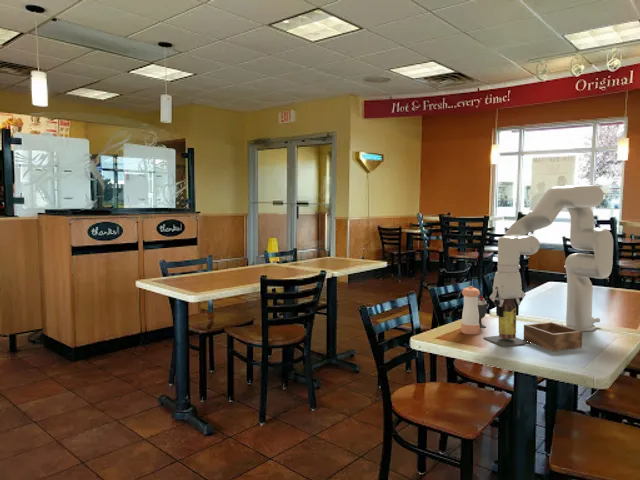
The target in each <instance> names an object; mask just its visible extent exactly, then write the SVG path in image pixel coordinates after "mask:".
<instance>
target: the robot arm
mask: <svg viewBox="0 0 640 480" xmlns="http://www.w3.org/2000/svg"><path fill="white" fill-rule="evenodd" d="M603 200H604V192H603V189H602V188H601V187H600V186H598V185H596V184H595V185H594V184H593V185H591V184H589V185H564V186H563V185H562V186H560V185H559V186H553V187H550V188H548V189H547V191H546V192H545V193H544V194H543V195H542V197H541V198H540V200H539V202H537V204H536V206H535V207H534V208H533V210H532V211H531V212H529V213H528V214H526V215H524V216H523V217H521V218H520V219H518V220H516V221H515V222H514V223H513V224H511V226H509V228H508V229H507V231H506V232H505V233H504V234H503V236H500V237H498V240H497V241H498V242H497V271H496V272H495V274H494V279H493V285H492V286H493V287H492V293H491V294H490V295H489V299H490V300H491V301H492V303H493V304H494V306H496V307H495V311H496V312H495V313H496V316H497V317H498V318H499V317H503V307H502V304H503V302H504V299H513V300H514V302H515V305H516V317H517V316H519V315H520V313H519V309H520V307H519V306H520V305H521V303H522V301H523V300H524V298H525V297H526V295H527V294H526V293H525V292H524V291H523V289H522V288H523V286H522V285H523V284H522V277H521V272H520V269H521V265H520V255H525V256H531V255H534V254H536V253H538V252H539V250H540V248H541V247H540V246H541V245H540V241H539V239H538V238H537V237H536V236H533V235H528V234H529V233H532V232H534V231H537V230H541V229H544V228H547V227H550V226H551V225H552V224H553V222H554V221H555V219H556V218H557V216H558V215H559V214H560V212H561V211H562V210H563V209H567V212H568V214H569V217H570V228H569V229H570V231H569V232H570V235H569V236H570V237H569V243H570V245H571V247H572V248H573V249H575V250H579V251H588V252H589V251H590V252H593V253H594V254H591V253H583V252H575V253H571V254H569V255H568V256H567V257H566V259H565V261H564V267H565V272H566V283H567V284H566V312H565V314H566V317H565V321H564V322H562V323H561V325H563V326H566V327H569V328H572V329H576V330H579V331H582V332H592V331H595V330H596V325H594V324H596V323H600V322H601V319H600V318H599V317H593V296H594V295H593V293H594V287H593V284H592V283H593V282H592V281H591V280H590V278H593V279H600V280H603V279H607V278H609V276H610V275H611V273H612V271H613V270H612V269H613V262H614V260H613V258H614V257H613V256H614V238H613V234H612V232H610V231H609V230H608V229H607V228H602V227H595V216H594V213H593V210H592V208H596V207H598V206H599V205H601V203H602V202H603Z"/></svg>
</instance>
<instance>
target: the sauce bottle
mask: <svg viewBox="0 0 640 480" xmlns="http://www.w3.org/2000/svg"><path fill="white" fill-rule="evenodd" d="M502 307H503V317H499V316H498V336H499V337H501V338H503V339H514V338H515V337H517V335H516V334H517V316H516V305H515V302H514V300H513V299H504V302H503V304H502Z"/></svg>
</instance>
